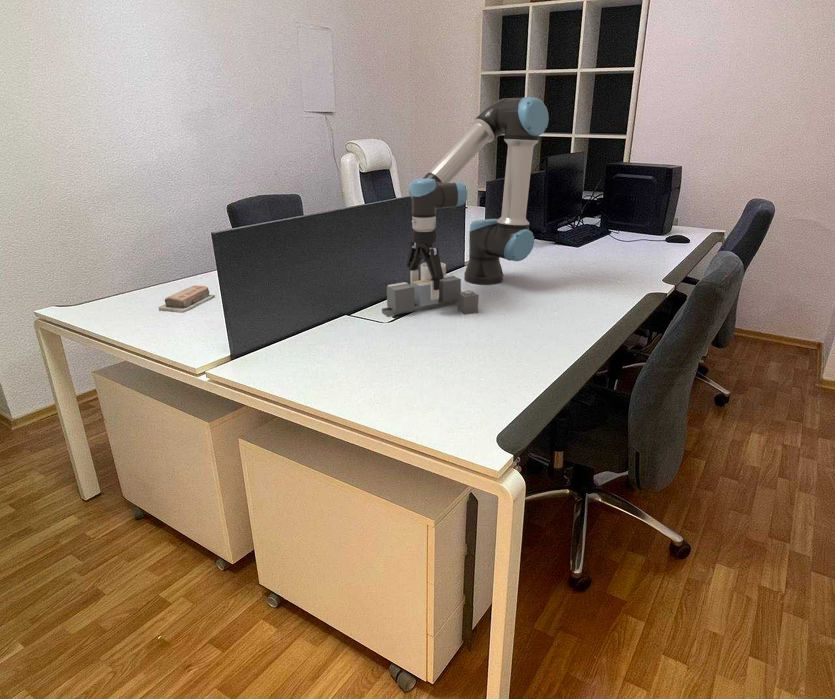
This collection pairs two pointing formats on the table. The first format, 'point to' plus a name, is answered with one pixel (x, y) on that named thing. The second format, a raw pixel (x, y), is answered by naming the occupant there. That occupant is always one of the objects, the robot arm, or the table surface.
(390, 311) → the rail
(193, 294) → the packaged product
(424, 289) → the block
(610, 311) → the table surface
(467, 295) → the block
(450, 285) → the mounted modules
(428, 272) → the mug
